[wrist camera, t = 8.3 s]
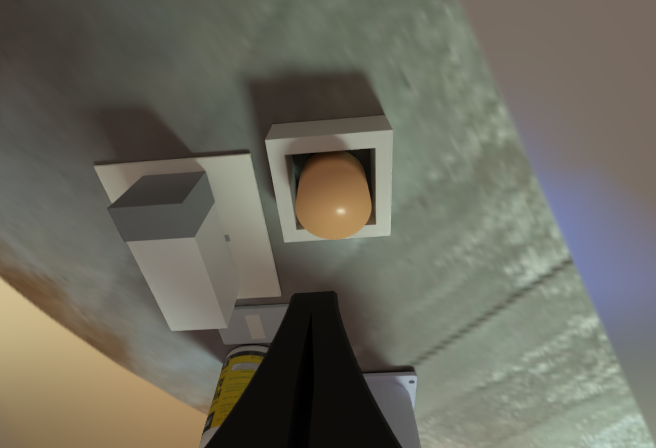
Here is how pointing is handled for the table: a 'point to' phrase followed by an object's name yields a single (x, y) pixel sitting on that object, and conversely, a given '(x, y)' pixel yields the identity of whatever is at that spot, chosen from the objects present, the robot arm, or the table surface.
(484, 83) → the table surface
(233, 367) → the supplement bottle
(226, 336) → the card
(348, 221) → the button
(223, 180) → the paper sheet
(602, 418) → the table surface
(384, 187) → the button box
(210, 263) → the grey rectangular prism
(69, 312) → the table surface
